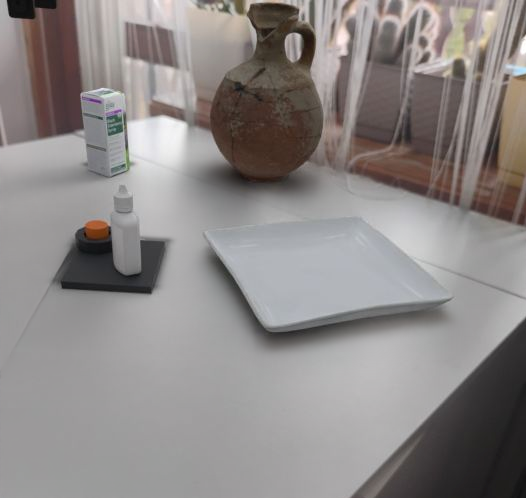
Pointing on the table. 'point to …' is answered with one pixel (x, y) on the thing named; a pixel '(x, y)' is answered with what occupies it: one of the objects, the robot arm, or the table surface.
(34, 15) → the robot arm
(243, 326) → the table surface
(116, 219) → the eye dropper bottle
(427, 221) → the table surface
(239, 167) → the jug
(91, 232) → the power button
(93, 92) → the syrup box
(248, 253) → the square plate
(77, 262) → the dark grey button base
